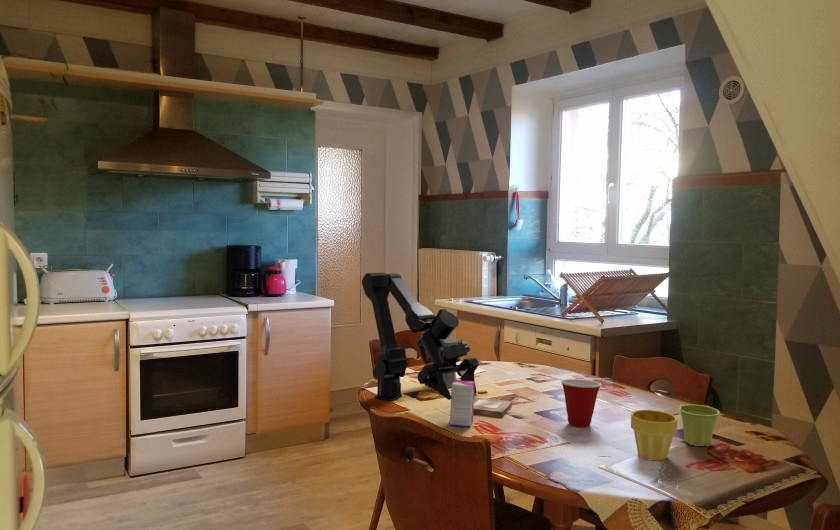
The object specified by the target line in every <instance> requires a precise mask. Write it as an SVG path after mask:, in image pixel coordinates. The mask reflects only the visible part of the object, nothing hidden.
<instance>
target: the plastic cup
mask: <svg viewBox="0 0 840 530" xmlns="http://www.w3.org/2000/svg"><path fill="white" fill-rule="evenodd" d="M560 382H561V384H562V389H563V393H564V401H565V408H566V413H567V414H566V415H567V422H568V425H570V426H572V427H575V428H588V427H591V424H592V419H593V418H592V417H593V414H594V411H595V407H596V402H597V397H598V394H599V390H600V388H601V387H602V383H601V382H597V381H593V380H588V379H587V380H586V379H579V378H577V379H576V378H574V379H573V378H567V379H566V378H565V379H562V380H561V379H560Z"/></svg>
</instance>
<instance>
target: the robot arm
mask: <svg viewBox="0 0 840 530" xmlns="http://www.w3.org/2000/svg"><path fill="white" fill-rule="evenodd" d="M361 286H362V289H363V292H364V295H365V296H366V297H367V298H368V299H369V301H370V302H371V304H372V305H371V306H372V309H373V314H374V318H375V319H374V320H375V324H376V329H377V333H378V338H379V339H378V340H379V343H380V344H379V345H380V349H379V352H378V355H377V360H378V361H377V362H378V363H377V364H376V365H375V367H374V369H372V377H373V379H376V380H377V389H376V390H377V391H376V394H375V395H374V398H377V399H381V400H385V401H386V400H387V401H394V400H396V399H399V398H401V397H403V394H402V383H401V378H403V377H405V374H406V371H407V368H408V358H407V353H406V348H405V347H401V346H400V345H399V344H398V343H397V337H396V333H395V329H394V328H395V327H394V324H393V318H392V314H391V310H390V304H389V300H388V299H389V296H390V293H391V295H392V297H393V298H394V300H395V301H396V303H397V304H398V305H399V306H400V308H401V309H402V311H403V313H404V314H405V315H404V317H405V318H404V319H405V320H404V321H405V322H406V325H407V326H408V329H409V331H410V332H411V333H415V334H418V333H419V334H420V333H423V334H421V335H420V336H418V338H417V342H416V346H417V347H419V346H424V348H425V352H427V353H426V354H427V355H428V356H429V357H428V358H426V359H427V360H428V361H429V362H430V363H427V364H425V365H424V366H423V367H422V369H420V371H419V372H418V374H417V380H418V382H419V384H420V385H424V386H425V387H428V388H430V389H431V390H433V391H435V392H437V393H438V394H440V395H441V396H442V397H444V398H445V399H447V400H448V401H451V398H452V397H451V391H450V390H449V388H447V386H446V384H445V382H444V380H443V374H448V373H454V372H456V375H458V376H459V380H462V381H474V382H475V383H476V380H475V371H476V370H477V369H478V367H479V365H480V363H479V360H478V359H477V358H476V357H468V358H463V360H462V361H461V358H462V357H464V356H468V353H469V352H470V351H471V348H470V345H469V344H468V342H467V341H466V340H465V341H464V340H462V341H463V342H461V343H458V344H457V345H452V346H446V344H445V342H444V340H443V339H447V338H448V337H449V338H450V336H452V334H453V332H454V331H455V330H456V329H457V328H458V327H459V321H460V320H459V318H458V317H457V316H456V315H454V313H452V312H450V311H448V309H446V308H441V309H440V308H439V310H438V311H437V314H436V315H434V313H433V312H432V311H431V310H430V309H429V308H428V307H426V306H424V305H422V304H421V303H419V301H418V300H417V299H416V297H415V296H414V295H413V293H412V292H411V291H410V289H409V288H408V287H407V285H406V283H404V281H403V279H402V276H401V275H400V274H399V273H386V272H367V273H365V274H364V276H363V278H362V280H361ZM460 361H461V362H460ZM458 362H459V364H458ZM476 394H477V387H476V384H475V386H474V396H475V395H476Z"/></svg>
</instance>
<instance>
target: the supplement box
mask: <svg viewBox="0 0 840 530" xmlns="http://www.w3.org/2000/svg"><path fill="white" fill-rule="evenodd" d="M475 385H476V381H475V382H474V381H462V380H460V379H457V380H454V382H453V383H452V388H450V389H451V391H450V395H451V397H452V398H451V399H450V412H449V413H450V414H449V427H452V426H457V427H456V428H464V427H468V429H470V428H471V426H472V424H473V422H474V414H473V406H474V397H475V395H474V386H475Z"/></svg>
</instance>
